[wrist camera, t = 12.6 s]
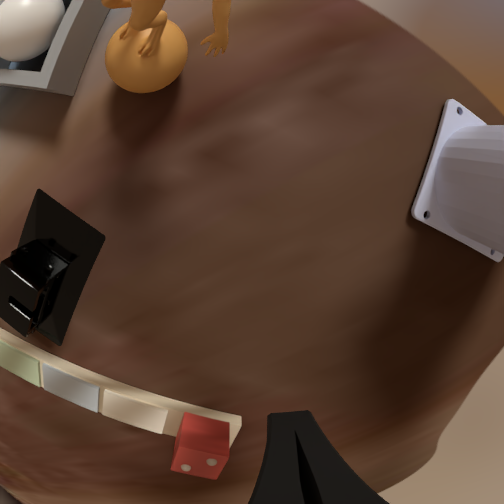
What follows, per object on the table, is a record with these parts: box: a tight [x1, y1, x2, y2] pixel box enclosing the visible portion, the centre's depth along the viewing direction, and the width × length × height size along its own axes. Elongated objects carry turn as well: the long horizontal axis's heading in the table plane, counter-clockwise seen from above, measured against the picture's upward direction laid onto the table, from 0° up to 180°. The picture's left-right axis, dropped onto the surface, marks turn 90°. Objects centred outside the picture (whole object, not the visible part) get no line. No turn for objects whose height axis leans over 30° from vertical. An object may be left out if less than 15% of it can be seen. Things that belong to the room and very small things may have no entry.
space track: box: [0, 328, 242, 480], centre depth 18 cm, size 20×4×4 cm, turn 71°
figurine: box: [101, 0, 231, 93], centre depth 8 cm, size 8×6×12 cm
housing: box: [0, 0, 110, 96], centre depth 11 cm, size 7×7×3 cm
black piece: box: [0, 189, 105, 346], centre depth 16 cm, size 12×7×5 cm, turn 146°
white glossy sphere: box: [0, 0, 65, 62], centre depth 10 cm, size 5×5×5 cm
